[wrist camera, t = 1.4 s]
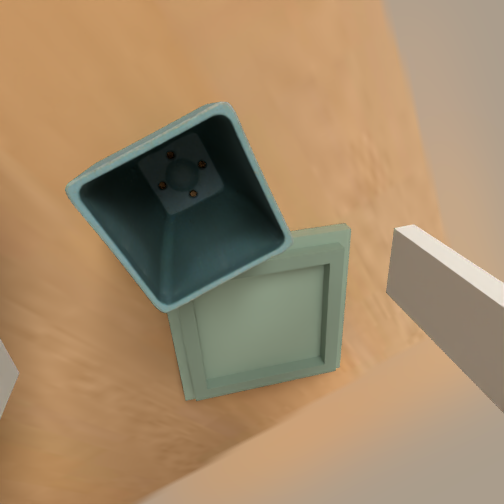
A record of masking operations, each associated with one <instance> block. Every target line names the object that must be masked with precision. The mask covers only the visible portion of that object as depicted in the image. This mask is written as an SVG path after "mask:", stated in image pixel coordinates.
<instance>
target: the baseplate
mask: <svg viewBox="0 0 504 504" xmlns="http://www.w3.org/2000/svg"><path fill="white" fill-rule="evenodd" d="M290 232H291V234H292V237H293V245H292V246H291V247H290V248H289V249H287V250H286V251H284V252H283V253H281V254H279V255H277V256H275V257H273V258H271V259H269V260H267V261H265V262H262V263H261V264H259V265H257V266H255V267H253V268H251V269H249V270H247V271H246V272H243V273H242V274H240V275H238V276H236V277H234V278H232V279H230V280H228V281H227V282H225V283H223V284H221V285H219V286H217V287H215V288H213V289H211V290H209V291H208V292H206V293H204V294H202V295H201V296H199V297H197V298H196V299H194V300H192V301H190V302H188V303H186V304H184V305H182V306H180V307H179V308H177V309H175V310H173V311H170V312H168V313H167V314H168V319H169V324H170V329H171V333H172V338H173V343H174V347H175V352H176V357H177V362H178V366H179V371H180V376H181V380H182V385H183V390H184V394H185V399H186V401H187V400H191V399H196V401H199V400H203V399H208V398H213V397H217V396H222V395H226V394H231V393H236V392H240V391H245V390H249V389H254V388H259V387H263V386H268V385H272V384H277V383H282V382H286V381H291V380H295V379H300V378H305V377H309V376H314V375H318V374H323V373H328V372H332V371H335V370H336V368H339V367H340V357H341V345H342V333H343V321H344V309H345V297H346V285H347V273H348V261H349V249H350V237H351V228H350V227H348V226H347V225H346V224H345V223H343V224H337V225H330V226H323V227H316V228H310V229H303V230H296V231H290Z"/></svg>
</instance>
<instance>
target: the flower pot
mask: <svg viewBox="0 0 504 504" xmlns="http://www.w3.org/2000/svg"><path fill="white" fill-rule="evenodd" d="M168 152H173V153H174V158H172V159H169V158H168V157H167V153H168ZM200 161H204V162H205V164H206V165H205V167H204V168H201V167H199V162H200ZM160 182H165V183H166V188H165V189H161V188H160V187H159V183H160ZM192 190H194V191H196V192H197V195H196V196H195V197H192V196H190V191H192ZM65 191H66V194H67V196H68V198H69V199H70V201H71V202H72V204H73V205H74V206H75V208H77V210H78V211H79V212H80V213H81V215H82V216H83V217H84V218H85V219H86V221H87V222H88V223H89V224H90V226H91V227H92V228H93V229H94V230H95V231H96V233H97V234H98V235H99V236H100V238H101V239H102V240H103V241H104V242H105V244H106V245H107V246H108V247H109V249H110V250H111V251H112V252H113V254H114V255H115V256H116V258H117V259H118V260H119V261H120V262H121V264H122V265H123V266H124V267H125V269H126V270H127V272H128V273H129V274H130V275H131V276H132V278H133V279H134V280H135V282H136V283H137V284H138V285H139V287H140V288H141V289H142V291H143V292H144V293H145V294H146V296H147V297H148V298H149V300H150V301H151V302H152V304H153V305H154V306H155V307H156V308H157V309H158V310H159V311H161V312H163V313H168V312H170V311H173V310H175V309H177V308H179V307H180V306H182V305H184V304H186V303H188V302H190V301H192V300H194V299H196V298H197V297H199V296H201V295H202V294H204V293H206V292H208V291H209V290H211V289H213V288H215V287H217V286H219V285H221V284H223V283H225V282H227V281H228V280H230V279H232V278H234V277H236V276H238V275H240V274H242V273H243V272H246V271H247V270H249V269H251V268H253V267H255V266H257V265H259V264H261V263H262V262H265V261H267V260H269V259H271V258H273V257H275V256H277V255H279V254H281V253H283V252H284V251H286V250H287V249H289V248H290V247H291V246H292V245H293V237H292V234H291V232H290V230H289V228H288V226H287V224H286V222H285V220H284V218H283V216H282V214H281V212H280V209H279V207H278V206H277V203H276V201H275V199H274V197H273V195H272V193H271V191H270V188H269V187H268V184H267V182H266V180H265V178H264V175H263V173H262V171H261V169H260V167H259V165H258V162H257V160H256V158H255V156H254V154H253V151H252V149H251V147H250V144H249V142H248V140H247V138H246V135H245V133H244V131H243V128H242V126H241V123H240V121H239V119H238V117H237V114H236V112H235V111H234V109H233V107H232V106H231V105H230V104H229V103H228V102H217V103H211V104H206V105H204V106H202V107H200V108H198V109H196V110H194V111H192V112H191V113H189V114H187V115H185V116H183V117H181V118H180V119H178V120H176V121H174V122H172V123H170V124H169V125H167V126H165V127H163V128H161V129H159V130H157V131H156V132H154V133H152V134H150V135H148V136H146V137H144V138H143V139H141V140H139V141H137V142H135V143H133V144H131V145H129V146H127V147H126V148H124V149H122V150H120V151H118V152H116V153H114V154H112V155H110V156H108V157H106V158H105V159H103V160H101V161H99V162H97V163H95V164H94V165H93V166H91V167H90V168H88V169H87V170H86V171H84V172H83V173H81V174H80V175H79V176H77V177H76V178H75V179H73V180H72V181H70V182H69V183H68V184H67V186H66V188H65Z"/></svg>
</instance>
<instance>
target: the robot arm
mask: <svg viewBox="0 0 504 504" xmlns="http://www.w3.org/2000/svg"><path fill="white" fill-rule="evenodd" d="M386 293H387V294H388V295H389V296H390V297H391V298H392V299H393V300H394V301H395V302H396V303H397V304H398V305H399V306H400V307H401V308H402V309H403V310H404V312H405V313H406V314H407V315H408V316H409V317H410V318H411V319H412V320H413V321H414V322H415V323H416V324H417V325H418V326H419V327H420V328H421V329H422V330H423V331H424V332H425V333H426V334H427V335H428V336H429V337H430V338H431V339H432V340H433V341H434V342H435V343H436V344H437V345H438V346H439V347H440V348H441V349H442V350H443V351H444V352H445V354H447V356H448V357H449V358H450V359H451V360H452V361H453V362H454V363H455V364H456V365H457V366H458V367H459V368H460V369H461V370H462V371H463V372H464V373H465V374H466V375H467V376H468V377H469V378H470V379H471V380H472V381H473V382H474V383H475V384H476V385H477V386H478V387H479V388H480V389H481V390H482V391H483V392H484V393H485V394H486V395H487V397H488V398H489V399H490V400H491V401H492V402H493V403H494V404H495V405H496V406H497V407H498V408H499V409H500V410H501V411H502V412H503V413H504V283H503V282H501V281H499V280H498V279H496V278H495V277H494V276H492V275H490V274H489V273H487V272H486V271H484V270H482V269H481V268H479V267H478V266H477V265H475V264H473V263H472V262H471V261H469V260H468V259H466V258H464V257H463V256H461V255H460V254H458V253H457V252H455V251H454V250H452V249H451V248H449V247H448V246H446V245H445V244H443V243H442V242H440V241H438V240H437V239H435V238H434V237H432V236H431V235H429V234H428V233H426V232H425V231H423V230H422V229H420V228H419V227H417V226H416V225H408V226H403V227H398V228H394V234H393V241H392V249H391V257H390V265H389V273H388V281H387V289H386ZM18 375H19V371H18V369H17V368H16V366H15V364H14V362H13V360H12V359H11V357H10V355H9V353H8V352H7V350H6V348H5V346H4V344H3V343H2V341H1V339H0V418H1V416H2V414H3V411H4V409H5V406H6V404H7V402H8V399H9V397H10V394H11V392H12V390H13V387H14V385H15V382H16V380H17V378H18Z"/></svg>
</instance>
